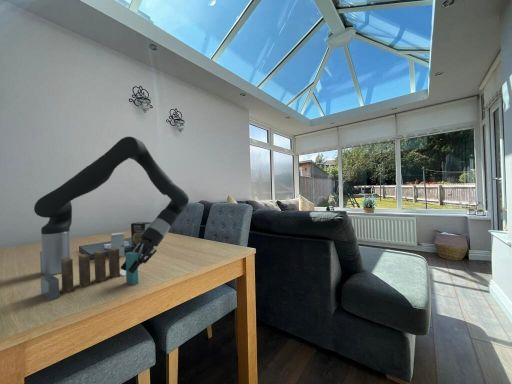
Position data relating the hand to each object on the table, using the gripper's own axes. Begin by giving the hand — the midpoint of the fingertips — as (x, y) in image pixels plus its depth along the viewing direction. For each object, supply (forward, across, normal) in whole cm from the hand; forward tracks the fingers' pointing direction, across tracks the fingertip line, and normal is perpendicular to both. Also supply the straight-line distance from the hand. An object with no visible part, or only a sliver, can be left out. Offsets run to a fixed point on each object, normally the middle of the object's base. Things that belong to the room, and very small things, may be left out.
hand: (126, 270), depth 80 cm
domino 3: (+6, -14, +1) cm, 15 cm away
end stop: (+16, -14, -9) cm, 23 cm away
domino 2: (+9, -14, -2) cm, 17 cm away
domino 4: (+2, -14, +5) cm, 15 cm away
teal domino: (+2, 0, +5) cm, 6 cm away
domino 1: (+13, -14, -6) cm, 20 cm away
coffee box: (-17, -44, +25) cm, 54 cm away
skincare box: (-8, -44, +15) cm, 47 cm away
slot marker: (-1, -14, +8) cm, 16 cm away
